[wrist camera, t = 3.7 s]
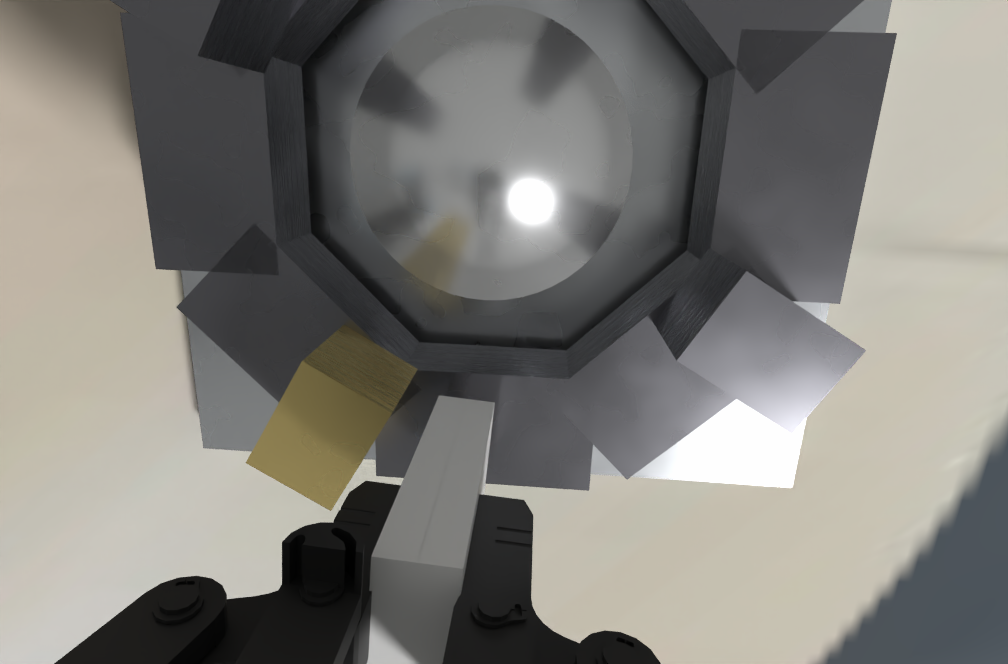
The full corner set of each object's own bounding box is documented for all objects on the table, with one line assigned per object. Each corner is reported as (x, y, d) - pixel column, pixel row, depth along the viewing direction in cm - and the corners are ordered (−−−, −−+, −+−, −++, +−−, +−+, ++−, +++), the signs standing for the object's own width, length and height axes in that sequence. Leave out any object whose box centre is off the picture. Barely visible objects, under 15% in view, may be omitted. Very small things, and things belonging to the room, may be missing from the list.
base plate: (217, 435, 23) (141, 502, 18) (137, -251, 16) (-8, -392, 12) (780, 472, 22) (839, 553, 17) (923, -249, 15) (1070, -404, 11)
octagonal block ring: (224, 426, 21) (116, 520, 15) (150, -230, 15) (-59, -428, 10) (767, 461, 20) (847, 575, 14) (896, -227, 14) (1101, -446, 9)
